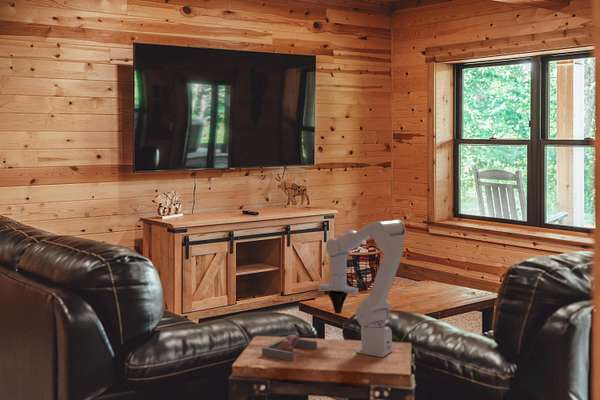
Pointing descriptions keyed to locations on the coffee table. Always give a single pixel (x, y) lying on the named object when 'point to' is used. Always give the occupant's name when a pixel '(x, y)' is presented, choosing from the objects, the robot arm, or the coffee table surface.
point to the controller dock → (286, 355)
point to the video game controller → (288, 343)
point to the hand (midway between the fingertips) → (338, 313)
